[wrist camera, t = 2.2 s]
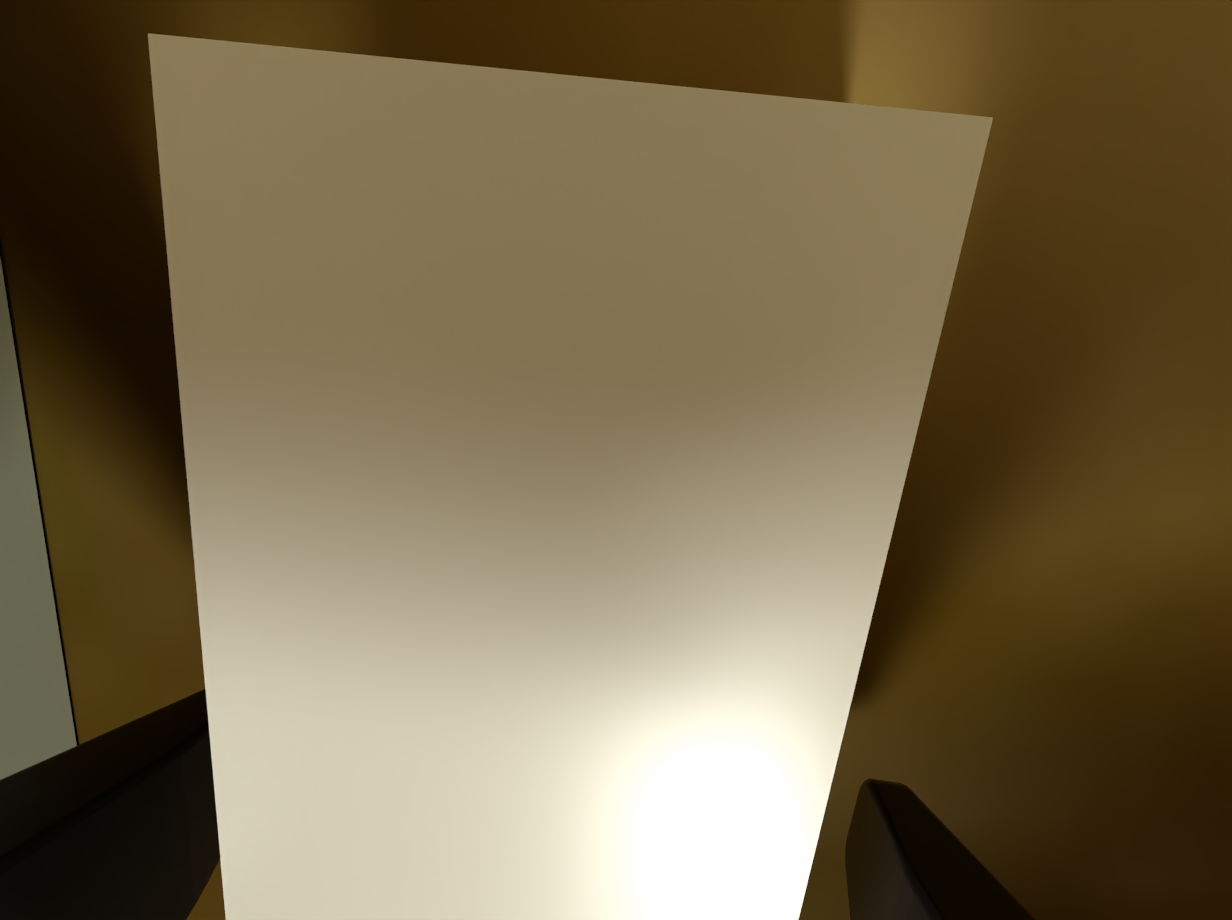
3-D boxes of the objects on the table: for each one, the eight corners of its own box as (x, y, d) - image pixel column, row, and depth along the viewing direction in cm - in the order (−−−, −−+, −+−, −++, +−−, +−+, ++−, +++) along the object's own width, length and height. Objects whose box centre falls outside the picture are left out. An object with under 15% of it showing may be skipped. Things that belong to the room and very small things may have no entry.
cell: (841, 158, 7) (994, 116, 3) (676, 1041, 11) (665, 1469, 7) (425, 114, 8) (147, 32, 4) (409, 992, 11) (266, 1382, 8)
